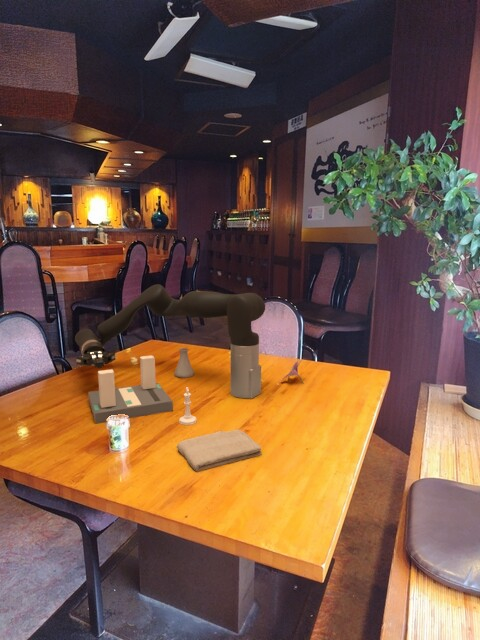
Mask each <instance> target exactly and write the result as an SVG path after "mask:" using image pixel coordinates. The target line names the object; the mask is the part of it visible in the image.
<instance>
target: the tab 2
mask: <svg viewBox="0 0 480 640" xmlns="http://www.w3.org/2000/svg"><path fill="white" fill-rule="evenodd" d="M155 359H156V358H155V357H154V355H143V356H140V357H139V364H140V385H141V387H142V388H143V390H144V389H151V388H156V383H157V382H156V363H155V362H156V361H155Z"/></svg>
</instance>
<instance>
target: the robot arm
mask: <svg viewBox="0 0 480 640" xmlns="http://www.w3.org/2000/svg"><path fill="white" fill-rule="evenodd" d="M145 306H147V308H148V309H149V310H150V311H151V312H152V313H153V314H154V315H156V316H157V317H172V316H173V317H175V316H178V317H189V318H191V317H192V318H197V319H198V318H200V319H207V318H208V319H209V318H210V319H211V318H222V317H227V320H226V321H227V333H228V336H229V338H230V339H229V340H230V394H231V396H233V397H235V398H238V399H251V400H252V399H254V398H256V397H257V396H259V395H261V392H262V365H260V362H259V361H260V357H259V356H260V335H259V334H258V333H257V332H254V331H253V329H252V322H254V321H256V320H258V319H260V318H261V317H262V316H263V315H264V313H265V311H266V303H265V300H264V299H263V298H262V297H261V296H260V295H258V294H257V293H255V292H254V293H253V292H245V293H238V294H237V293H235V294H229V293H222V292H213V291H199V290H193V291H189V292H187V293H186V294H185V295H184V296H183V297H182V298H180V299H175V298H173V297H172V296H171V295H170V294H169V291H168V290H167V289H166V288H165V287H164V286H163V285H161V284H158V283H157V284H153V285H151V286H150V287H148V288H146V289H145V290H144V291H143V292H141V293H140V294H139V295H138V296H137V297H135V298H134V299H133V300H132V301H131V302H130V303H127V305H126V306H125V307H124V308H122V309H121V310H120V311H118V312H117V313H115V314H114V315H113V316H111V317H109V318H107V319H106V320H105V321H103V322H101V323H99V325H98V326H97V331H98V333H99V336H100V339H99V338H98V337H97V336H96V334H95V333H94V331H92V330H91V329H89V328H82V329H80V330H79V331H77V333H76V334H75V337H74V341H75V343H76V344H77V346H78V347H79V349H80V351H81V355H77V356H76V357H75V360H76V361H75V362H76V365H79V366H80V365H81V366H85V367H91V366H93V367H94V368H96V369H103V367H104V366H105V365H109V364H110V363H112V362H114V361H116V352H114V351H113V352H107V351H106V349H105V347H104V346H106V345H107V343H108V342H110V341H111V340H112V339H114V338H115V337H117V336H119V335H120V334H122V333H124V332H125V331H126V330H127V329H128V328H129V326H130V324H131V322H132V321H133V319H134V317H135V316H136V313H137V312H138V311H139V310H140V309H142V308H143V307H145Z"/></svg>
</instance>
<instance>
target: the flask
mask: <svg viewBox="0 0 480 640" xmlns="http://www.w3.org/2000/svg"><path fill="white" fill-rule="evenodd" d="M178 351H179V357H178V359H179V360H178V361H177V365H176V368H175V370H174V374H173V375H174V376H175V377H177V378H184V379H187V378H191V377H193V376H194V375H195V372H194V369H193V367H192V365H191V362H190V359H189V356H188V355H189V354H188V351H189V349H188V348H179V349H178Z"/></svg>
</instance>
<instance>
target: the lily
mask: <svg viewBox="0 0 480 640" xmlns="http://www.w3.org/2000/svg"><path fill="white" fill-rule="evenodd" d="M303 360H304V358H302V360H300V361H299V360H296V361H295V362H294V364H293V365H292V367H289V370H290V371H289V372H288V373H287V374H286V375H285V376H284V377H283V378H282V380H280V383H282V381H284V380H285V378H287V379H289V378H290V377H291V376H292V377H293V376H297V377H298V378H299V379H300V380H301V383H304V380H303V379H302V377H301V376H300V375H299V366H300V364H301V363H302V362H303Z"/></svg>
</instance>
